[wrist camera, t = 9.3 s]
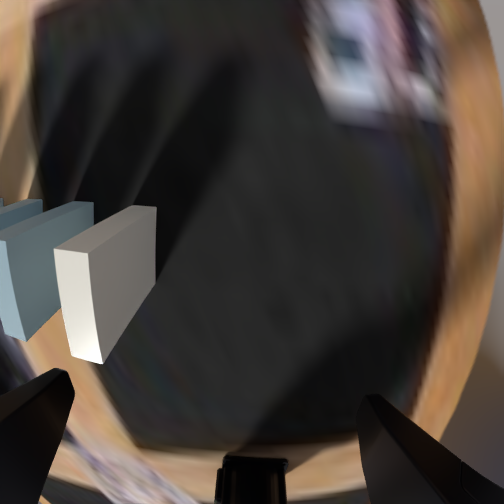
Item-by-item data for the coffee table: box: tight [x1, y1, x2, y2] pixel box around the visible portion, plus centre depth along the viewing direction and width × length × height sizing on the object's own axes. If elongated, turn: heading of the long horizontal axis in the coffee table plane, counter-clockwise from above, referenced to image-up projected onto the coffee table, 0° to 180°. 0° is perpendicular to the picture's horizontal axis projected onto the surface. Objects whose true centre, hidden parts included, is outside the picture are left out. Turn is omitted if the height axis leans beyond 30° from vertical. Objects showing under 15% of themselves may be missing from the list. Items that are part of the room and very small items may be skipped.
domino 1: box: [0, 199, 43, 231], centre depth 14 cm, size 2×5×8 cm, turn 173°
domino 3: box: [54, 205, 157, 364], centre depth 15 cm, size 2×5×8 cm, turn 173°
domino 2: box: [0, 201, 94, 342], centre depth 14 cm, size 2×5×8 cm, turn 173°
